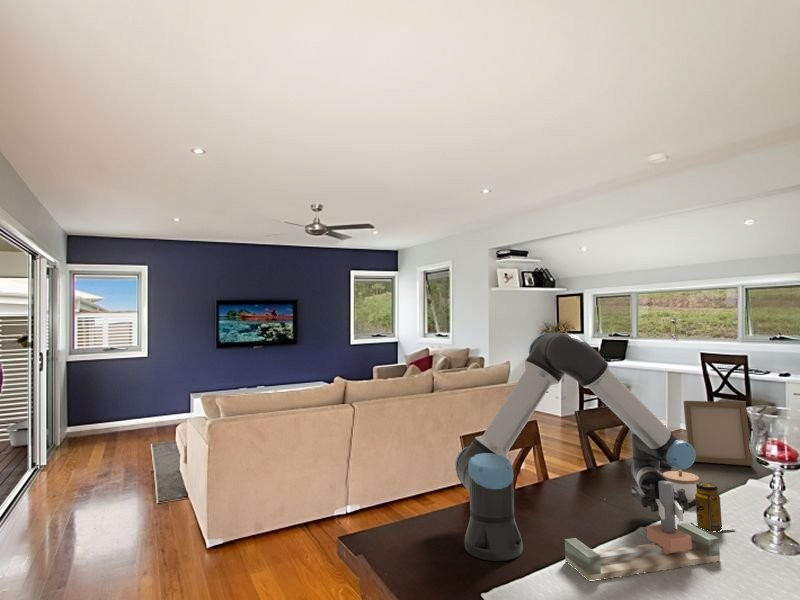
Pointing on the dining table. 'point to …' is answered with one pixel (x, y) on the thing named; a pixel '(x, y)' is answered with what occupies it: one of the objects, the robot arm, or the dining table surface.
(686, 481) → the lidded jar
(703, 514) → the condiment
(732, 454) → the photo frame
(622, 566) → the rail track
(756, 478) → the dining table surface
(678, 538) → the carriage
